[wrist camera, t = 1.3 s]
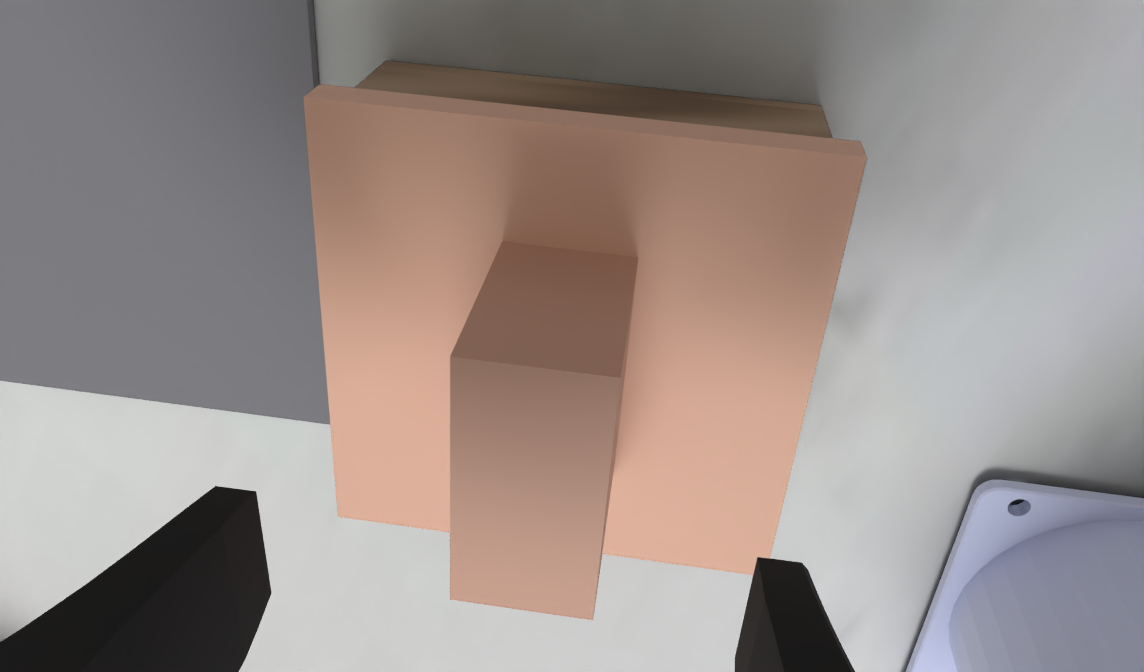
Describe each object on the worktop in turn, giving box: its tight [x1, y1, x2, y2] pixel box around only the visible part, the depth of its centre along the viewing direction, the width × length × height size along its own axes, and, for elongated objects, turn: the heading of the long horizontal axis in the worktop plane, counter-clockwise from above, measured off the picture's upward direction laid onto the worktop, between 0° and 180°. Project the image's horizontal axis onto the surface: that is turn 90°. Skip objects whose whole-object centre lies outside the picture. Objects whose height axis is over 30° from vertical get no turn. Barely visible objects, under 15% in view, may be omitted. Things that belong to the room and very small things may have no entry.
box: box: [355, 61, 832, 138], centre depth 20 cm, size 9×9×3 cm
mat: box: [0, 0, 330, 424], centre depth 22 cm, size 12×12×1 cm
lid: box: [303, 84, 867, 620], centre depth 17 cm, size 10×10×5 cm
